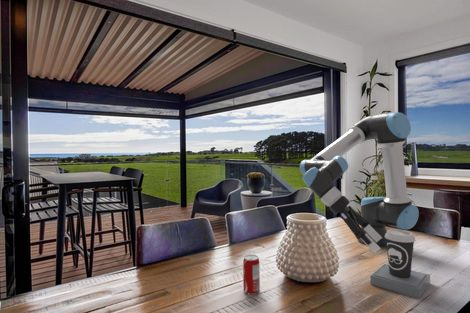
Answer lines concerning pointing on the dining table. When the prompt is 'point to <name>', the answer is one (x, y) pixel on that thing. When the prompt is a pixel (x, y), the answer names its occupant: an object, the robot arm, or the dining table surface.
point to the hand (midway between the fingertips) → (378, 245)
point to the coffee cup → (400, 252)
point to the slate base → (401, 282)
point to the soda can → (251, 274)
